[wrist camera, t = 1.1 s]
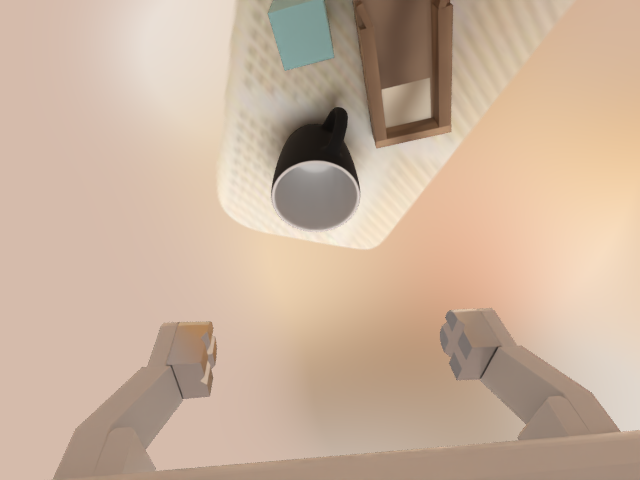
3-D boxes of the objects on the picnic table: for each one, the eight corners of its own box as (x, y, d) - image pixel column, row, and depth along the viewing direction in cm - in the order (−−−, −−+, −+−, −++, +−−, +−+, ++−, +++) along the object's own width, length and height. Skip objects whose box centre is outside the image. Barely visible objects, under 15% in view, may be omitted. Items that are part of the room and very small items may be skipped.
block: (320, -23, 31) (322, -3, 25) (329, 27, 34) (334, 57, 27) (276, -10, 32) (267, 13, 25) (289, 38, 34) (284, 70, 28)
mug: (334, 188, 47) (339, 241, 39) (269, 167, 44) (260, 220, 37) (377, 104, 39) (392, 151, 32) (300, 74, 37) (297, 116, 29)
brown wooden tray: (442, -91, 28) (455, -91, 26) (442, 119, 40) (451, 133, 38) (343, -61, 29) (346, -57, 27) (372, 134, 42) (376, 149, 39)
